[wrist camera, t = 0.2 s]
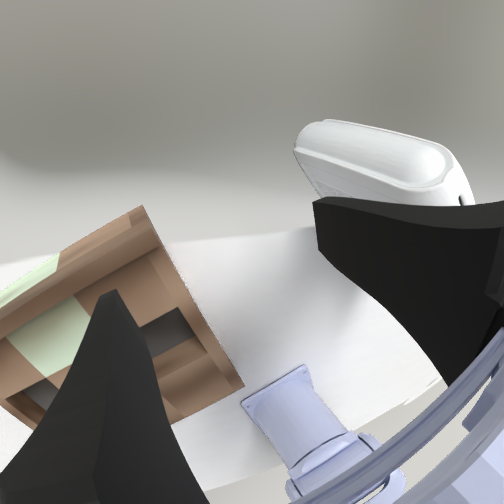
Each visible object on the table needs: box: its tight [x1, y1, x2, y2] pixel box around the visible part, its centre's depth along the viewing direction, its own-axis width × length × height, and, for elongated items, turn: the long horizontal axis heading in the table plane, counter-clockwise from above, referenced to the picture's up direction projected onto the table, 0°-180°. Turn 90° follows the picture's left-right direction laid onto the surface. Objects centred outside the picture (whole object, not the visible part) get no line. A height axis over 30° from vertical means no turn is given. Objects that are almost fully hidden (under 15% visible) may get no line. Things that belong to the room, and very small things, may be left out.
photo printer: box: [293, 119, 475, 206], centre depth 18 cm, size 10×4×12 cm, turn 39°
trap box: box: [0, 205, 245, 430], centre depth 19 cm, size 17×18×4 cm
